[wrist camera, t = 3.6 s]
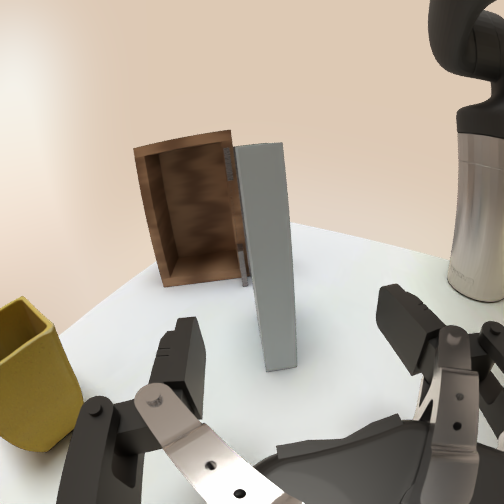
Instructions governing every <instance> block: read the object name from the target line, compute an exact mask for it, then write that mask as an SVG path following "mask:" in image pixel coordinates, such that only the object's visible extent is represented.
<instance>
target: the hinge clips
mask: <svg viewBox="0 0 504 504" xmlns="http://www.w3.org/2000/svg"><path fill="white" fill-rule="evenodd" d="M261 144H267V143H261ZM252 145H256V144H252ZM244 146H248V145H244ZM236 147H239V146H236ZM223 150H224V157H225V165H226V172H227V180H228V181H231V180H233V172H232V171H233V170H232V169H233V168H232V165H231V157H230V150H229V147H228V148H223ZM233 152H234V160H235V168H236V175H237V183H238V191H239V198H240V206H241V213H242V221H243V226H242V227H243V228H244V236H245V243H246V251H247V258H248V266H249V273H250V276H252V274H251V267H250V259H249V251H248V244H247V236H246V229H245V221H244V213H243V206H242V198H241V190H240V183H239V175H238V167H237V159H236V152H235V147H233ZM230 186H231V185H230ZM230 189H231V187H230ZM231 192H232V191H231ZM232 196H233V195H232ZM230 197H231V196H230ZM232 200H233V199H232ZM231 202H232V201H231ZM235 202H236V201H235ZM231 204H232V203H231ZM233 204H234V203H233ZM233 204H232V205H233ZM237 205H238V204H237ZM232 208H233V206H232ZM233 217H234V215H233ZM238 219H239V218H238ZM234 220H235V217H234ZM237 224H238V223H237ZM235 225H236V224H235ZM236 231H237V230H236ZM236 231H235V232H236ZM236 233H237V232H236ZM238 235H239V234H238ZM238 235H237V237H238ZM237 237H236V238H237ZM241 238H242V237H241ZM237 248H238V257H239V263H240V270H241V277H242V283H243V287H245V286H248V282H247V274H246V269H247V268H246V267H245V266H246V265H245V260H244V253H243V246H242V244H237ZM245 254H246V253H245ZM247 273H248V272H247Z"/></svg>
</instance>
